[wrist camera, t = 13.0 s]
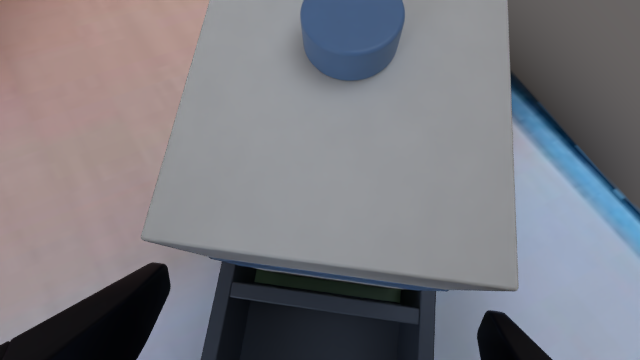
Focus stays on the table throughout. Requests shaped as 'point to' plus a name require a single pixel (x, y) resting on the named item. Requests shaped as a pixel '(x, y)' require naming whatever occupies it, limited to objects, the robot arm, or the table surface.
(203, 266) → the table surface
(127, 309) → the robot arm
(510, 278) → the carton
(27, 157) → the table surface
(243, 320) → the caddy
